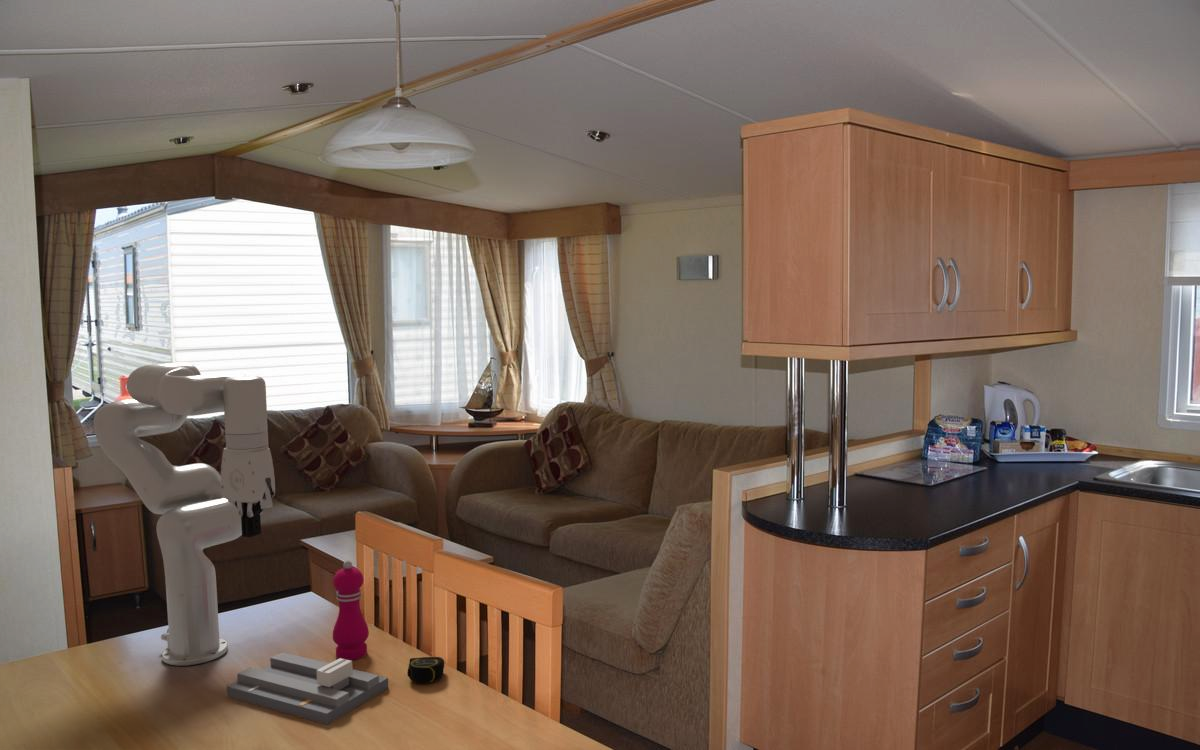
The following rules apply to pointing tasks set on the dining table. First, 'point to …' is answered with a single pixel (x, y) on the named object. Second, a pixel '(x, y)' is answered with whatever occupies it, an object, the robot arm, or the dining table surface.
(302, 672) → the fader console
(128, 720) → the dining table surface
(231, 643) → the dining table surface
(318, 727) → the dining table surface
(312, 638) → the dining table surface
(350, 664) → the fader tab
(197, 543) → the robot arm
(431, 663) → the tape measure
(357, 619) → the pepper mill
